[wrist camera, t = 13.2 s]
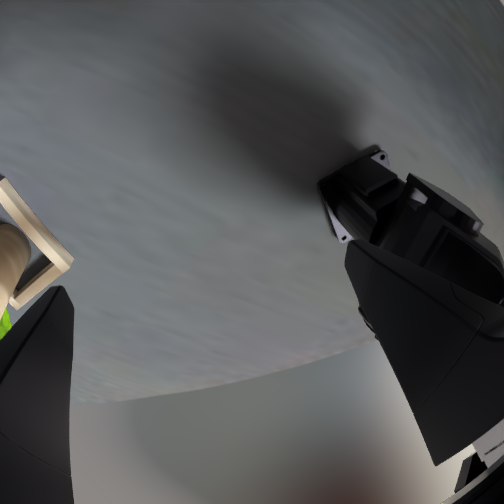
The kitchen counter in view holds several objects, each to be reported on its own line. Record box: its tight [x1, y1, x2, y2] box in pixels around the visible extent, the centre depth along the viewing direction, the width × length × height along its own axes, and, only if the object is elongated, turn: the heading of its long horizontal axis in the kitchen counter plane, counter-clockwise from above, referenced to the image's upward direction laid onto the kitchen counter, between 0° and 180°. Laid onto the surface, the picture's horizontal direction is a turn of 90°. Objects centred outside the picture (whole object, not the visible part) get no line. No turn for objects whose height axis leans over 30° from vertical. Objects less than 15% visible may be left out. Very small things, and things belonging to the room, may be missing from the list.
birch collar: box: [0, 177, 74, 310], centre depth 19 cm, size 9×9×1 cm
